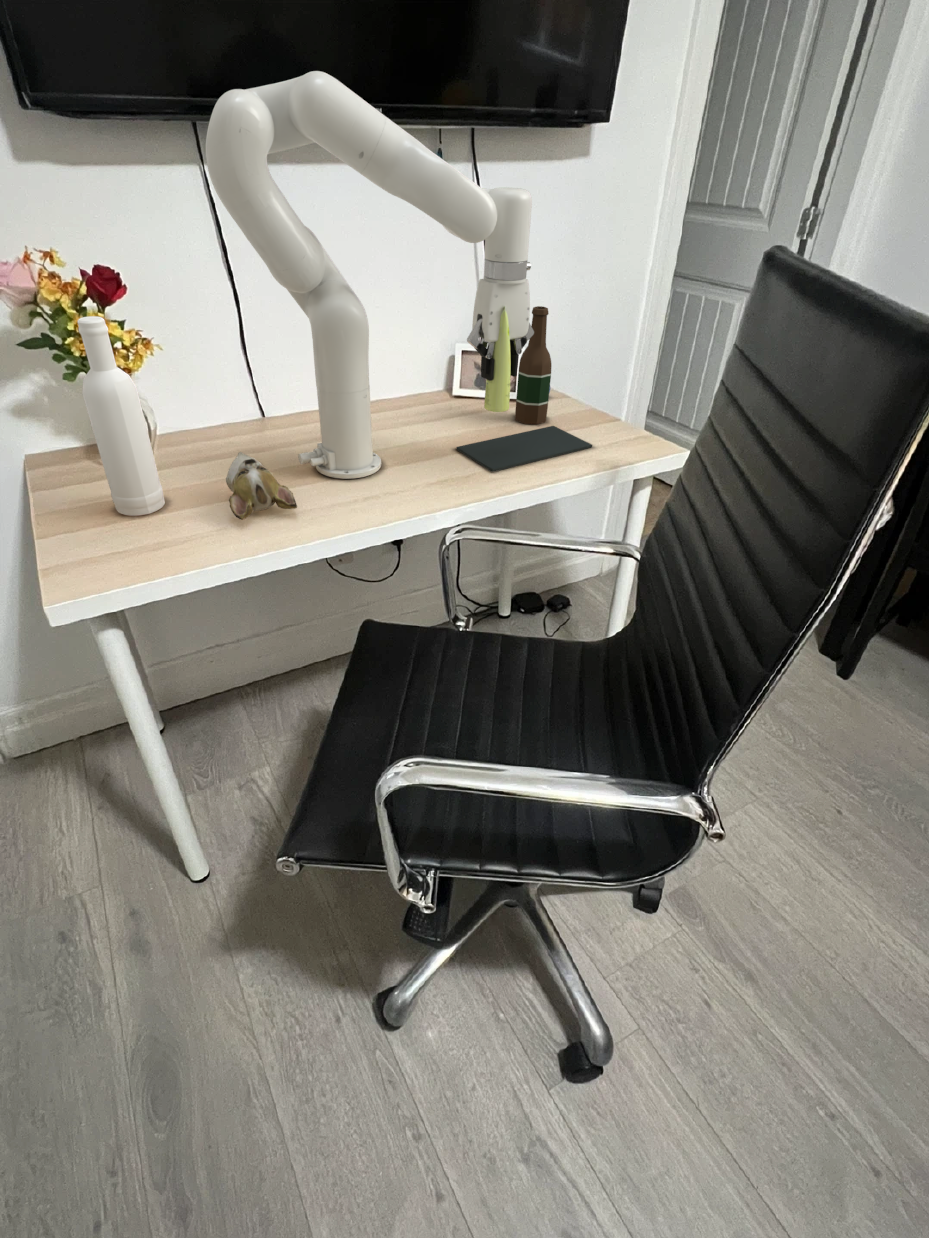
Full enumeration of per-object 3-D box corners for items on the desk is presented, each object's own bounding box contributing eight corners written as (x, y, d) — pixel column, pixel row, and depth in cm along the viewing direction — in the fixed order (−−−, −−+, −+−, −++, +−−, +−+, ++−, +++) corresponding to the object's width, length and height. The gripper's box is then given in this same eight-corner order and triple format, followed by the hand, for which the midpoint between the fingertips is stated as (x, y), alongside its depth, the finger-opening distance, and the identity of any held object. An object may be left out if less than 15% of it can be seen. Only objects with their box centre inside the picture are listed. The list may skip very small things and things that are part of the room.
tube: (516, 410, 134) (524, 302, 123) (499, 416, 131) (505, 306, 120) (496, 402, 137) (501, 297, 126) (478, 408, 134) (482, 300, 123)
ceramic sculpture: (268, 438, 120) (297, 474, 110) (274, 482, 126) (302, 521, 116) (206, 448, 116) (231, 487, 106) (215, 494, 121) (239, 535, 111)
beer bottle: (508, 414, 160) (516, 304, 146) (539, 412, 162) (550, 303, 148) (520, 426, 154) (530, 312, 140) (552, 424, 156) (565, 311, 142)
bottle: (150, 491, 121) (103, 310, 104) (175, 505, 118) (130, 319, 100) (106, 506, 116) (49, 318, 99) (131, 521, 112) (76, 328, 95)
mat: (492, 472, 133) (492, 469, 133) (456, 449, 142) (456, 446, 142) (592, 447, 145) (592, 444, 145) (553, 428, 154) (553, 425, 154)
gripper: (530, 264, 126) (522, 366, 137) (452, 270, 119) (450, 377, 129) (556, 271, 121) (545, 376, 132) (477, 278, 114) (473, 388, 124)
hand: (498, 375), depth 131 cm, fingers closed on tube, 4 cm apart
